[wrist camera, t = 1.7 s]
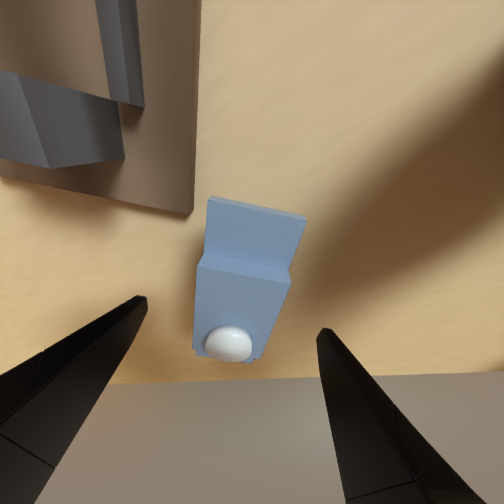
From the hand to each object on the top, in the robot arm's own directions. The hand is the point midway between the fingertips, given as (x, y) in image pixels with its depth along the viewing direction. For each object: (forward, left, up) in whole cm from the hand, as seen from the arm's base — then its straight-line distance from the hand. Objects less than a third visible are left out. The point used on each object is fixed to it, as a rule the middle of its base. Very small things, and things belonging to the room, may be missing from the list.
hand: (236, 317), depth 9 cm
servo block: (0, 0, -6) cm, 6 cm away
